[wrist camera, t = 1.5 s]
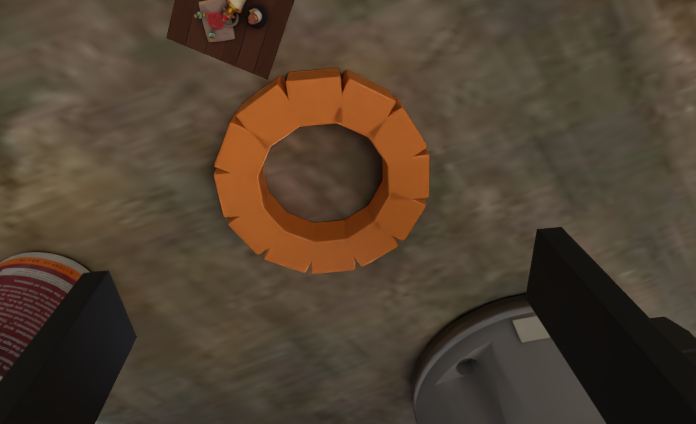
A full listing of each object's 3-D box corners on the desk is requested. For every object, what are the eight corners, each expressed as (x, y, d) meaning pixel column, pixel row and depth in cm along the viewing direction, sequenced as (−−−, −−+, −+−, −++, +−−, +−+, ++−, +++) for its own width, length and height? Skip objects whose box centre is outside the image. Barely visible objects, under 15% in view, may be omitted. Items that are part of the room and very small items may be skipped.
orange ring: (419, 243, 25) (427, 263, 23) (244, 260, 24) (238, 281, 23) (421, 60, 20) (432, 68, 18) (203, 79, 20) (192, 89, 18)
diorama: (284, -25, 18) (281, -25, 16) (257, 61, 20) (251, 70, 18) (213, -59, 17) (201, -63, 15) (191, 34, 19) (177, 40, 17)
